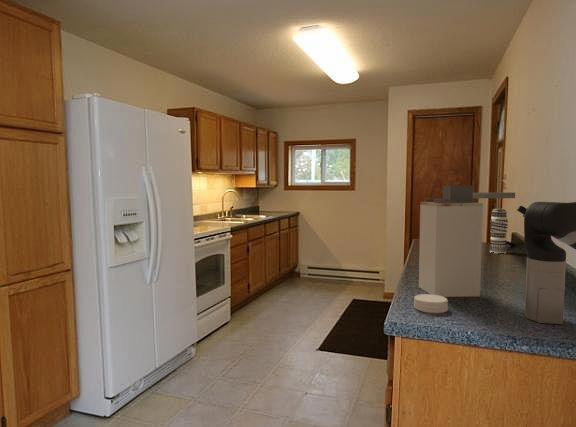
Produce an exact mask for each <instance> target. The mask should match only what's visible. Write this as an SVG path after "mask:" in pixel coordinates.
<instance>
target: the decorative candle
mask: <svg viewBox="0 0 576 427" xmlns="http://www.w3.org/2000/svg"><path fill="white" fill-rule="evenodd" d="M507 212H508V211H507V210H506V209H505V208H493V209H492V211H491V219H490V221H489V222H490V223H489V225H490V227H489V231H490V240H489V241H490V242H489V252H490V253H491V252H494V253H493V254H498V253H504V254H507V245H508V244H507V242H508V241H507V233H508V230H507V229H508V227H507V226H508V225H509V224H508V223H509V220H508V217H507Z"/></svg>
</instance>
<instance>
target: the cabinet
mask: <svg viewBox="0 0 576 427" xmlns="http://www.w3.org/2000/svg"><path fill="white" fill-rule="evenodd" d="M457 202H458V200H443V198H424V201H420V208H419V209H420V210H419V258H418V259H419V260H418V264H419V265H418V287H419V288H420V289H421V290H422V291H424V292H426V293H427V294H434V295H439V296H443V297H445V298H450V297H451V298H453V297H454V298H455V297H462V298H463V297H480V296H481V279H482V278H481V276H482V274H481V273H482V270H481V269H482V248H483V247H482V244H483V242H482V240H483V237H482V236H483V211H484V210H483V208H484V203H483V202H473V203H457Z"/></svg>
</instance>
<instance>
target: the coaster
mask: <svg viewBox="0 0 576 427" xmlns="http://www.w3.org/2000/svg"><path fill="white" fill-rule="evenodd" d="M413 300H414V301H413V303H414V304H413V308H414V309H416V310H417V311H420V312H424V313H430V314H442V313H446V312H448V310H449V300H448V298H447V297H443V296H439V295H434V294H429V293H422V294H421V293H420V294H419V293H418V294H416V295H415V296H414V298H413Z"/></svg>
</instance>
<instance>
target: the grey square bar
mask: <svg viewBox="0 0 576 427" xmlns="http://www.w3.org/2000/svg"><path fill="white" fill-rule="evenodd" d="M442 199H443V200H458V202H457V203H474V200H473V199H516V192H510V191H509V192H505V191H504V192H474V185H442Z"/></svg>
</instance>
